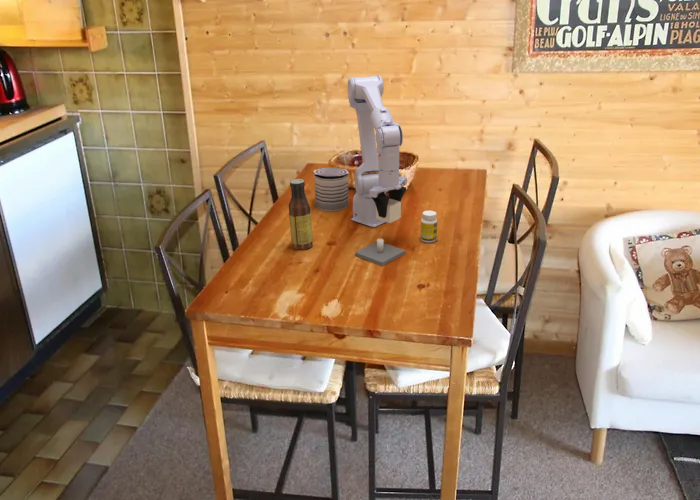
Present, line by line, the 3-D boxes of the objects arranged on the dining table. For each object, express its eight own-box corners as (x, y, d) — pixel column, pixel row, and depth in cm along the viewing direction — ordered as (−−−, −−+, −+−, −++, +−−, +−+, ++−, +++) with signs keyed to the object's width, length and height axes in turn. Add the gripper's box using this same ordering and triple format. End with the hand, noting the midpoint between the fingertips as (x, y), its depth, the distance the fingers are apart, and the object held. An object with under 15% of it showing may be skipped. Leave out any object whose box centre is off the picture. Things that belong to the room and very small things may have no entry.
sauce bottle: (317, 243, 207) (314, 179, 198) (306, 252, 202) (303, 186, 193) (297, 240, 209) (293, 176, 201) (286, 248, 204) (282, 183, 196)
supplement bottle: (435, 243, 206) (436, 216, 202) (419, 242, 207) (420, 215, 203) (437, 236, 210) (438, 210, 206) (421, 235, 211) (422, 209, 207)
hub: (376, 218, 203) (376, 202, 201) (387, 213, 207) (387, 197, 205) (389, 223, 200) (390, 206, 198) (400, 217, 204) (400, 201, 202)
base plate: (355, 255, 199) (354, 241, 197) (377, 244, 206) (377, 229, 204) (382, 265, 193) (382, 250, 191) (405, 253, 200) (405, 239, 198)
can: (307, 207, 232) (306, 172, 227) (327, 196, 241) (326, 162, 236) (337, 214, 227) (336, 178, 222) (355, 202, 236) (355, 168, 230)
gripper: (383, 178, 190) (383, 225, 196) (416, 164, 200) (414, 209, 205) (363, 172, 194) (363, 218, 200) (396, 159, 204) (395, 204, 210)
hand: (388, 213), depth 203 cm, fingers closed on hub, 5 cm apart
